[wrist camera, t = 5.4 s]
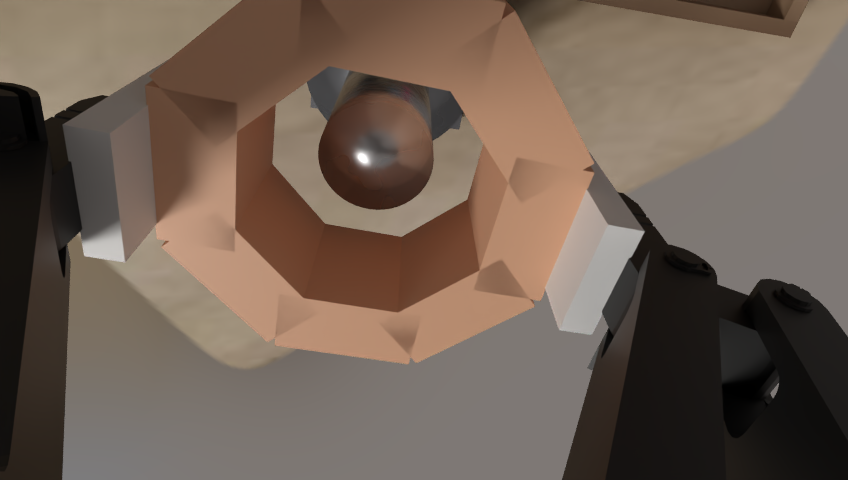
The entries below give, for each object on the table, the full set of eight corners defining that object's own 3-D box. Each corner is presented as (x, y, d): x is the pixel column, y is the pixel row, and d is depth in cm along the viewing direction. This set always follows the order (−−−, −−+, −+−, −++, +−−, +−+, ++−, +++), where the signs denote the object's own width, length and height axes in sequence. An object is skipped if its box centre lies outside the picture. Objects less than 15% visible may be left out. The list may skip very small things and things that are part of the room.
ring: (206, -86, 11) (132, -83, 8) (595, 5, 12) (652, 36, 9) (210, 251, 16) (164, 329, 13) (492, 296, 17) (507, 378, 14)
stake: (323, -67, 25) (210, -39, 11) (488, -38, 25) (570, 22, 12) (315, 98, 29) (225, 264, 15) (457, 120, 30) (491, 296, 16)
